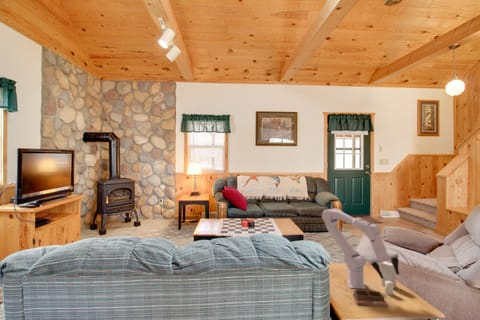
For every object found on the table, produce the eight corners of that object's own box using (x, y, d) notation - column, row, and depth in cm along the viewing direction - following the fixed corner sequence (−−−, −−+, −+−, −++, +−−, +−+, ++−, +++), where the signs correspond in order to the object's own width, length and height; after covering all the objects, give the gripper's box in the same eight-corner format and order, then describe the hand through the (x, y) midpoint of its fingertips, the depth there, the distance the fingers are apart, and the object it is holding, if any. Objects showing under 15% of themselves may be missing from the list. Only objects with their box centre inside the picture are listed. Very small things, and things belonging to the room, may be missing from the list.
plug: (384, 292, 145) (384, 280, 145) (391, 292, 145) (391, 280, 145) (386, 295, 142) (386, 283, 142) (394, 295, 141) (394, 283, 141)
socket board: (353, 295, 142) (352, 289, 142) (380, 297, 140) (380, 291, 140) (357, 304, 133) (357, 298, 133) (387, 306, 131) (386, 300, 131)
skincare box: (396, 286, 151) (396, 264, 151) (391, 288, 149) (391, 265, 149) (385, 282, 156) (385, 260, 156) (380, 284, 154) (380, 262, 154)
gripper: (366, 252, 140) (377, 280, 136) (396, 244, 138) (407, 273, 134) (363, 251, 147) (373, 278, 143) (391, 244, 145) (402, 271, 141)
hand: (389, 276), depth 139 cm, fingers open, 7 cm apart
